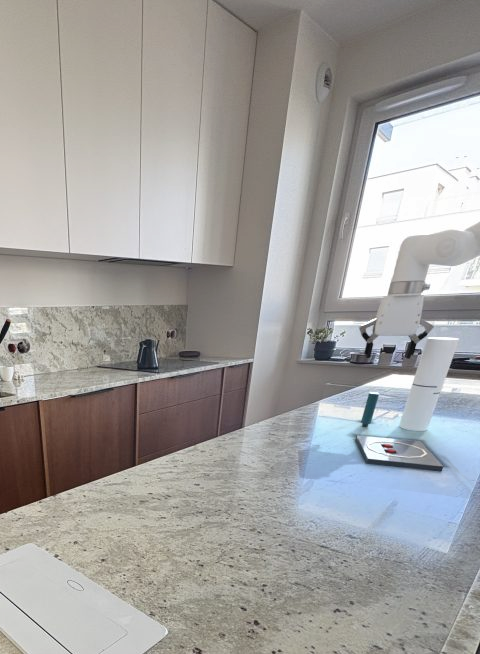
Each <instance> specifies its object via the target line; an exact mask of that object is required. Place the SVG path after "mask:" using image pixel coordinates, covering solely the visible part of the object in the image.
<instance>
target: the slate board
mask: <svg viewBox="0 0 480 654" xmlns="http://www.w3.org/2000/svg"><path fill="white" fill-rule="evenodd" d="M355 442H356V444H357V446H358V448H359V451H360V453H361V455H362V457H363V459H364V462H365V464H370V465H379V466H389V467H397V468H407V469H415V470H416V469H417V470H425V469H426V470H425V471H435V472H443V468H444V465H443V464H442V463H441V462H440V461H439V459H437V458H436V456H435V455H434V454H433V453H432V452H431V451H430V450H429V448H428V447H426V445H425V444H424V443H423V442H422V441H421V440H414V439H413V440H412V439H402V438H401V439H400V438H391V437H377V436H365V435H356V437H355ZM383 444H390V445H392V446H391V448H387V447H383ZM387 449H393V450H395V453H386V450H387Z"/></svg>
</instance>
